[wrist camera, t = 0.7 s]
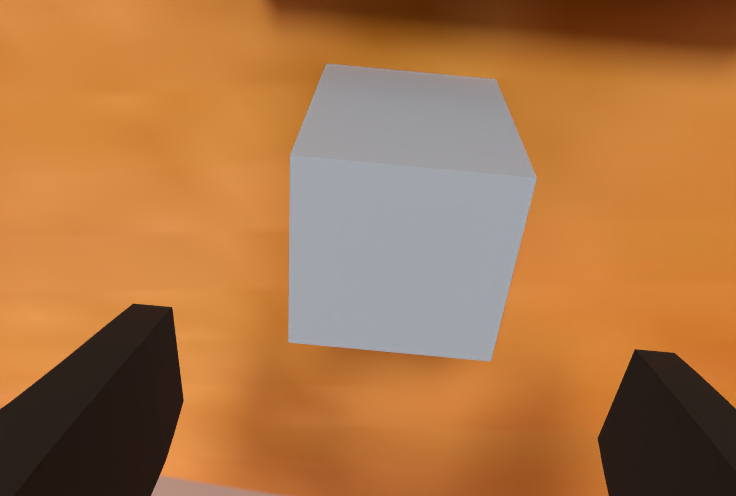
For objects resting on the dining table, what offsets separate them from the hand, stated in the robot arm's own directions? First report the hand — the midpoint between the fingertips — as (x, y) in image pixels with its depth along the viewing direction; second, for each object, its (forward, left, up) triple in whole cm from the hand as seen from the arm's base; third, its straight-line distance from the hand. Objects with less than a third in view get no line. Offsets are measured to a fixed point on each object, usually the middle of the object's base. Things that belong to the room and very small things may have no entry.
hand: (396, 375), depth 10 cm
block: (0, 0, -9) cm, 9 cm away
